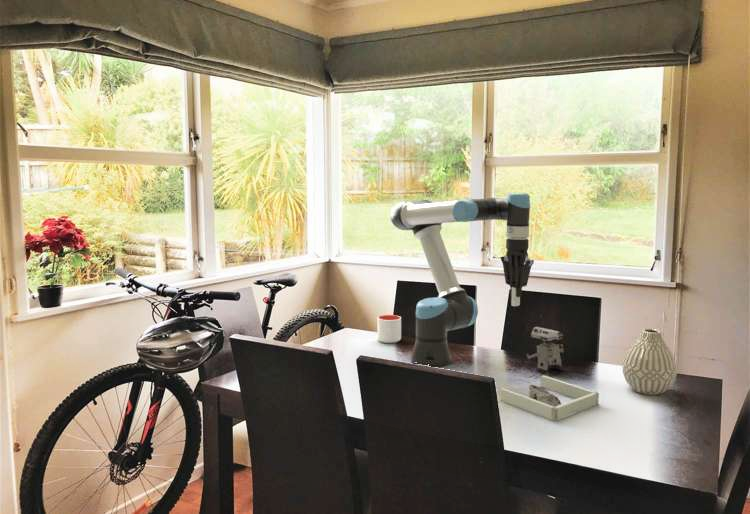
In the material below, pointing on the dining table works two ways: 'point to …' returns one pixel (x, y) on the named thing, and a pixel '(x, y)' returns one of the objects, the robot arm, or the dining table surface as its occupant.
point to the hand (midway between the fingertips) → (515, 305)
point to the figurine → (547, 349)
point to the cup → (389, 328)
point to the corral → (581, 402)
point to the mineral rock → (543, 396)
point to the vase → (649, 364)
